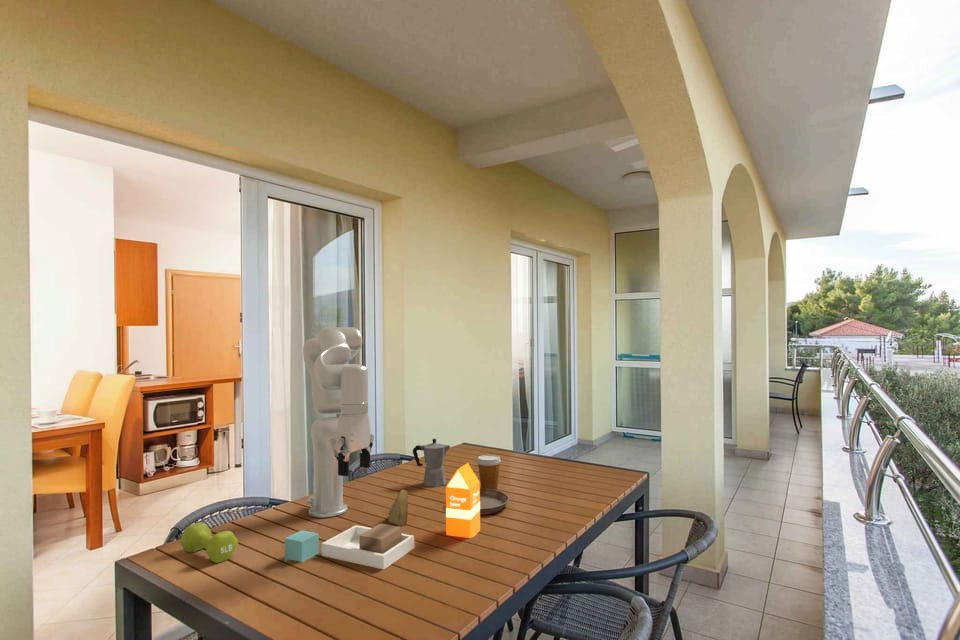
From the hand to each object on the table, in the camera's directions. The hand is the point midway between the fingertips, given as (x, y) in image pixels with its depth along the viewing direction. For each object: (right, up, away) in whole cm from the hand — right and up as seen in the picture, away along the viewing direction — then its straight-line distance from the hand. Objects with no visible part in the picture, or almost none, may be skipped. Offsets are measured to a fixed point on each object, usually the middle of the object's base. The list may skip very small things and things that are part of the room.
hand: (354, 471), depth 137 cm
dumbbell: (-39, -22, -4) cm, 45 cm away
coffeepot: (+16, -24, +61) cm, 67 cm away
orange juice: (+30, -22, +9) cm, 38 cm away
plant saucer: (+35, -23, +33) cm, 53 cm away
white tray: (+5, -21, -5) cm, 22 cm away
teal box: (-12, -21, -7) cm, 25 cm away
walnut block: (+9, -20, -6) cm, 23 cm away
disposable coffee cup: (+39, -24, +54) cm, 70 cm away
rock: (+9, -22, +18) cm, 30 cm away
